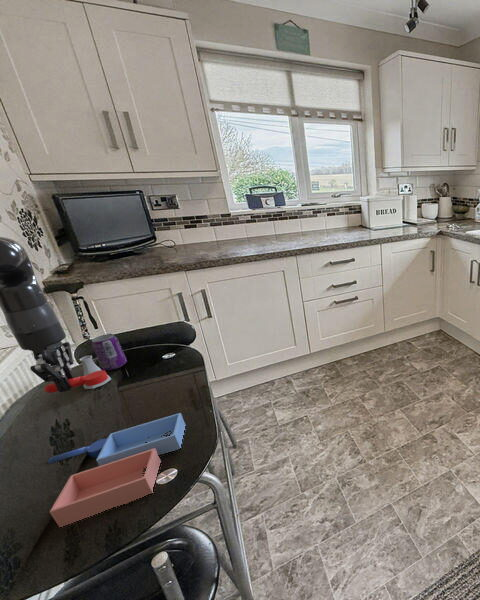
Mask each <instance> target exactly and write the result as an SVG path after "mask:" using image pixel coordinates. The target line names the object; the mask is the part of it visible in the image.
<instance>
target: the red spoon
mask: <svg viewBox="0 0 480 600" xmlns="http://www.w3.org/2000/svg"><path fill="white" fill-rule="evenodd" d="M107 375H108V373H107V370H103V369H101V370H100V371H96V372H93V373H90V374H88V375H86V376H84V375H82V376H77V377H74V378H73V379H68V381H69V383H70V385H71V387H72V388H71V389H73V388H76V387H81V386H83V385H86V386H93V385H97V384H99V383H102V382H104V381H105V380H107V379H108V376H109V375H108V376H107ZM44 392H45V393H47V394H52V393H57V392H59V391H58V389H57V387H56V385H55V383H54V382H53V383H52V382H51V383H48V384H47V385H46V386H44Z"/></svg>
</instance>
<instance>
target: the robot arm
mask: <svg viewBox="0 0 480 600" xmlns="http://www.w3.org/2000/svg"><path fill="white" fill-rule="evenodd" d="M0 310H1V312H2V314H3V316H4V318H5V321H6V324H7V326H8V327H9V329H10V331H11V333H12V335H13V337H14V338H15V340H16V342H17V344H18V346H19V347H20V349H21V350H23V351H31V352H32V354H33V358H34V360H35V361H36V362H35V365H31V366H30V367H29V369H30V370H31V372H32V373H33V374H35V375H36V376H37V377H39V379H41V380H42V381H44V382H45V383H49V382H53V383H55V385H56V387H57V389H58V391H57V392H59V393H65V392H69V391H71V390H72V389H73V388H72V387H71V385H70V383H69V381H68V379H73V378H75V376H74V373H73V372H72V366H73V365H74V358H73V353H72V348H71V343H70V342H69V341H66V342H62V341H63V340H65V339H66V337H67V334H66V332H65V330H64V328H63V326H62V324H61V322H60V320H59V318H58V315H57V313H56V312H55V310H54V308H53V307H52V306H51V305H50V303H49V301H48V299H47V297H46V294H45V293H44V291H43V289H42V287H41V286H40V284H39V283H38V280H37V278H36V274H35V270H34V268H33V265H32V262H31V259H30V257H29V254H28V253H27V251H26V250H25V248H24V247H23V245H22V244H20V242H18V241H16V240H14V239H11V238H9V237H4V236H0Z"/></svg>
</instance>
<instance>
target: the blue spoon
mask: <svg viewBox="0 0 480 600" xmlns="http://www.w3.org/2000/svg"><path fill="white" fill-rule="evenodd" d="M107 439H108V437H107V438H106V437H105V438H101V439H98V440H96V441H94V442H92V443H91V444H90V445H88V446H83V447H79V448H76V449H74V450H70V451H67V452H63V453H60V454H58V455H54V456H51V457H50V458H49V459H48V460H47V464H52V463H56V462H59V461H62V460H65V459H68V458H71V457H75V456H79V455H81V454H85V453H86V454H85V457H87V456H89V457H90V458H93V459H94V458H98V456H99V454H100V452H101V450H102V448H103V446H104V444H105V442H106V441H107Z"/></svg>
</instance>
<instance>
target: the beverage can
mask: <svg viewBox="0 0 480 600" xmlns="http://www.w3.org/2000/svg"><path fill="white" fill-rule="evenodd" d="M91 342H92V343H91V348H92V349H93V352H94V354H95V356H96V358H97V360H98V362H99V364H100V367H101V368H102V369H101V370H104V371H113V369H114V370H117V369H119V368H121V367H123V366H124V365H125V364H126V363H127V362H128V360H127V357H126V355H125V353H124V351H123V348H122V346H121V344H120V342H119V339H118V337H116V336H115V334H114V333H105V334H101V335H98V336H96V337H94V338H92V339H91Z"/></svg>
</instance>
